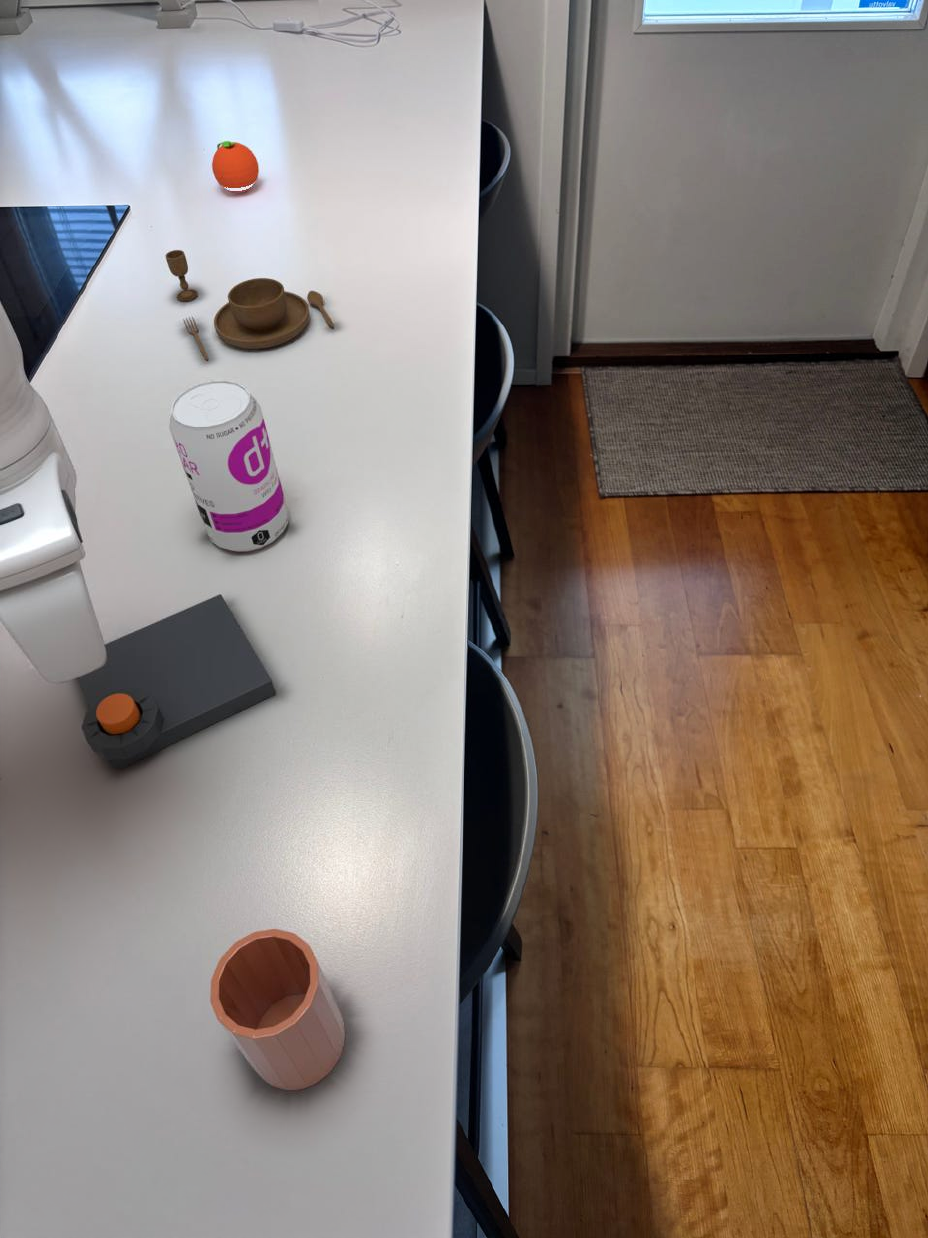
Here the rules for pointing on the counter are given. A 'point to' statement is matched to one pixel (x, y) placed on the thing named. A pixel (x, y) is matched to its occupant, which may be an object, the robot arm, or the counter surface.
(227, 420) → the supplement can
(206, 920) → the counter surface
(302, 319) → the place setting
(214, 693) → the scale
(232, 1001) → the cup
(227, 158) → the clementine
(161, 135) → the counter surface
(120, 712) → the button
